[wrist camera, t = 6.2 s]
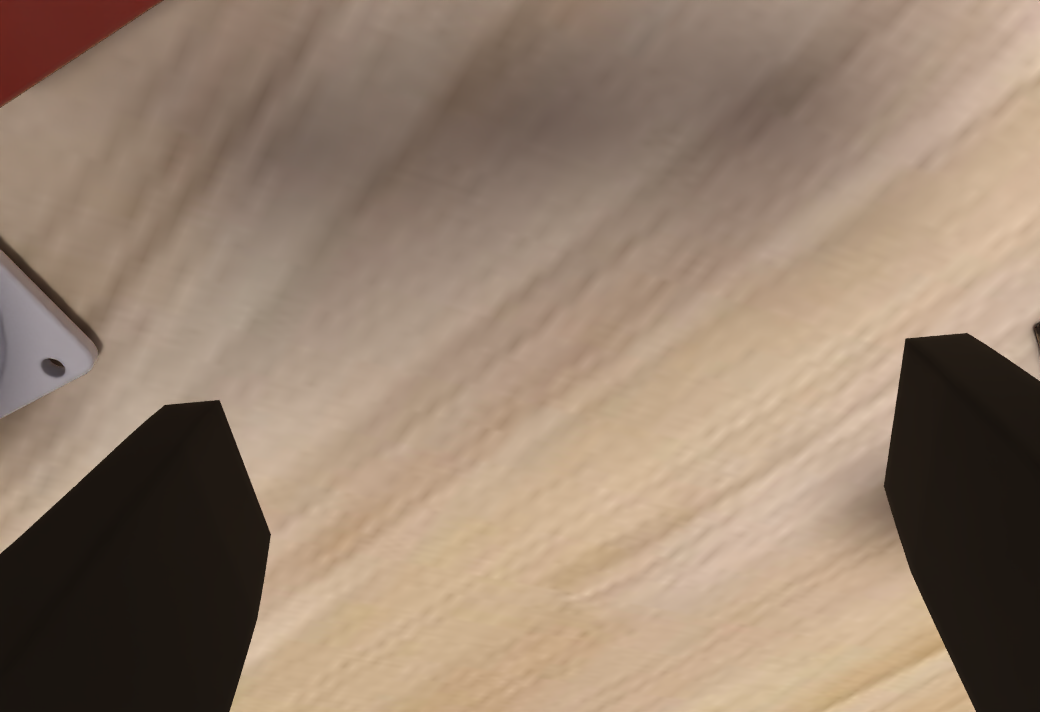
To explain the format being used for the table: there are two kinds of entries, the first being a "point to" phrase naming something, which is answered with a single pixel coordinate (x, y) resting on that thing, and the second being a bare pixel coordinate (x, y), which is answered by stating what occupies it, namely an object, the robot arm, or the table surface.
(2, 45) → the dial panel
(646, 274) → the table surface
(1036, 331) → the black lever base
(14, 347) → the robot arm
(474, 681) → the table surface
